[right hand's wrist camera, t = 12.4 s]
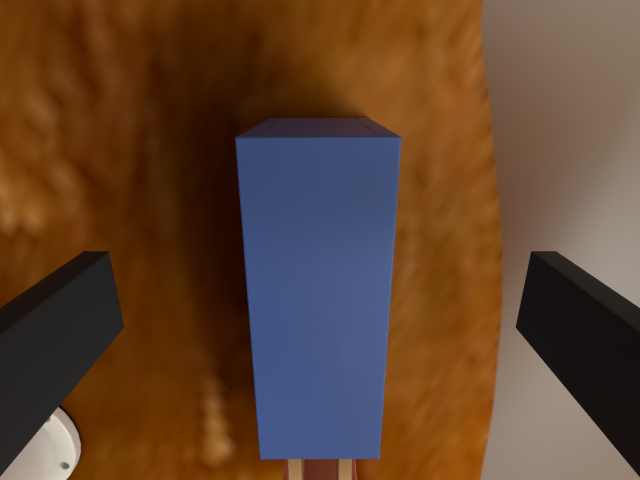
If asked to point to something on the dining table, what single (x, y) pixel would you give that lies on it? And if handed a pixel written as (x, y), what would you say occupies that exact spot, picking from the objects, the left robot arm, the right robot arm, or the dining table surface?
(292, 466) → the drawer
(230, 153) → the dining table surface
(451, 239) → the dining table surface
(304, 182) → the cabinet
